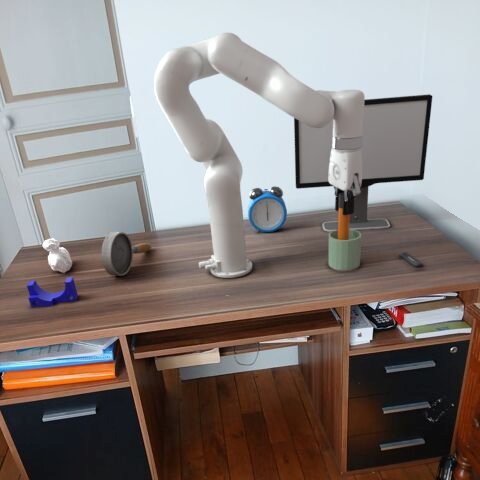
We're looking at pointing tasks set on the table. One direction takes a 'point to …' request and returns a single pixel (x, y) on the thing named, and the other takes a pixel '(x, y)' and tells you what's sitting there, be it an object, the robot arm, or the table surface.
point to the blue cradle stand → (51, 294)
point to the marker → (343, 221)
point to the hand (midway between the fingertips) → (344, 211)
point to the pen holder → (344, 250)
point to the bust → (57, 256)
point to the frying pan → (120, 253)
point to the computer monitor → (370, 151)
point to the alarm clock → (267, 209)
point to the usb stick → (411, 260)
